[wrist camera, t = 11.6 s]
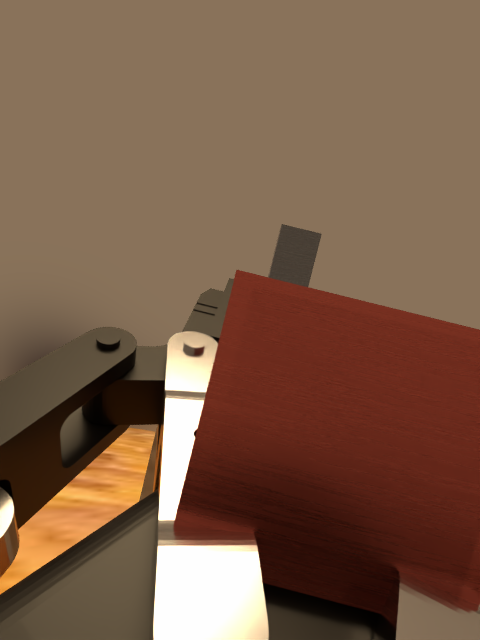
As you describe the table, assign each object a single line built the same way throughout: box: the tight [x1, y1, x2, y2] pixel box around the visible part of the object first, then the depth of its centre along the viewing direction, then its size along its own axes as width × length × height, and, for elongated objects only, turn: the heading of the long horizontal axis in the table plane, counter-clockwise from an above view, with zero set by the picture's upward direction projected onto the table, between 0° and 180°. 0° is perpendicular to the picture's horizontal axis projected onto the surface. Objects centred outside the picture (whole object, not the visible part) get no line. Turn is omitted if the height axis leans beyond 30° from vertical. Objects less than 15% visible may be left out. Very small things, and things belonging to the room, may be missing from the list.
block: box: [173, 224, 480, 614], centre depth 23 cm, size 36×4×9 cm, turn 178°
